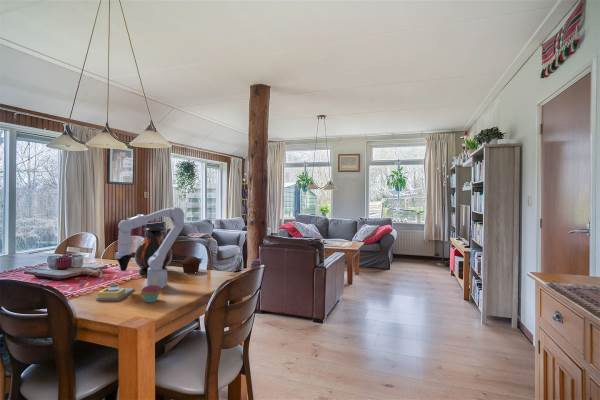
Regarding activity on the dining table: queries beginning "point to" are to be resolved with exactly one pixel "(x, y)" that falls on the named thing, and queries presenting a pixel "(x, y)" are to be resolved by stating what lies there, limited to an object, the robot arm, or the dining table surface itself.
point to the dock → (113, 294)
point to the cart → (113, 288)
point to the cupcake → (151, 292)
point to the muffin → (191, 264)
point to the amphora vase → (151, 249)
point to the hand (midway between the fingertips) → (123, 270)
